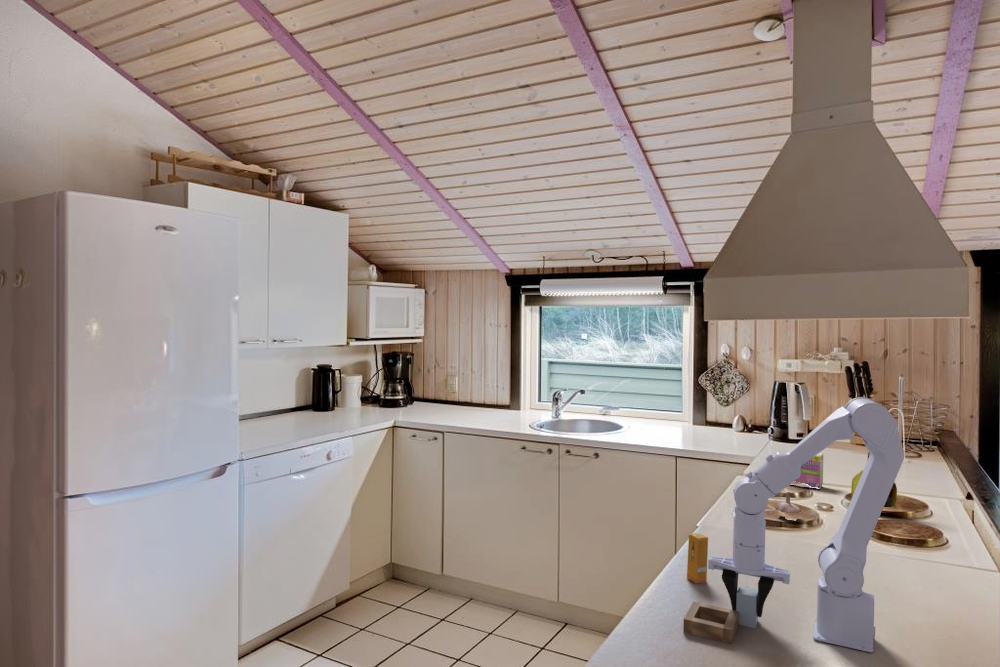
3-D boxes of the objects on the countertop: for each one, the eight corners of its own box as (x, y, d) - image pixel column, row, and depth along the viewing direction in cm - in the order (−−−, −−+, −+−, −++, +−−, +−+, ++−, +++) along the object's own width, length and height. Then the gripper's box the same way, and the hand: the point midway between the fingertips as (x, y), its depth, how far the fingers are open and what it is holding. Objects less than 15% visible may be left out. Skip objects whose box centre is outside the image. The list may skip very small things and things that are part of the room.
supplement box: (708, 581, 143) (709, 536, 143) (696, 584, 142) (697, 538, 142) (698, 576, 146) (699, 532, 146) (685, 578, 145) (686, 534, 145)
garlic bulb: (775, 513, 194) (776, 487, 194) (802, 517, 191) (803, 490, 191) (774, 520, 188) (774, 493, 187) (802, 524, 184) (802, 496, 184)
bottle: (897, 513, 196) (899, 447, 196) (894, 518, 191) (896, 450, 191) (853, 505, 204) (855, 442, 203) (848, 510, 199) (850, 445, 198)
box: (787, 485, 227) (788, 452, 227) (790, 482, 232) (791, 449, 231) (820, 490, 221) (821, 456, 221) (822, 487, 226) (823, 453, 225)
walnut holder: (738, 624, 124) (739, 611, 124) (731, 643, 116) (731, 630, 116) (693, 613, 128) (693, 601, 128) (683, 632, 120) (683, 618, 120)
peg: (757, 620, 125) (758, 590, 125) (755, 628, 122) (756, 596, 122) (738, 616, 127) (739, 586, 127) (735, 623, 124) (736, 592, 124)
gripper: (792, 542, 124) (790, 612, 125) (713, 529, 131) (712, 596, 132) (789, 554, 118) (786, 628, 118) (706, 540, 125) (705, 609, 125)
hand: (747, 612), depth 125 cm, fingers open, 4 cm apart
